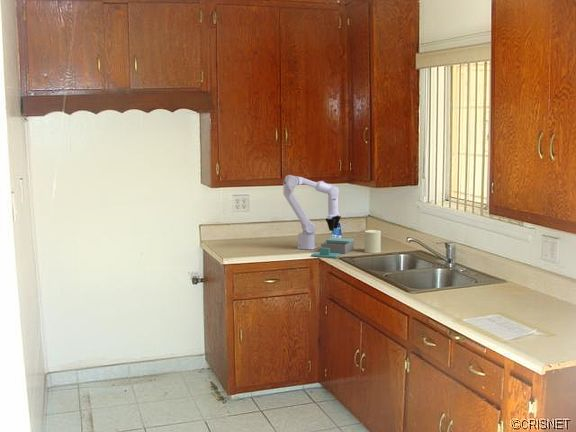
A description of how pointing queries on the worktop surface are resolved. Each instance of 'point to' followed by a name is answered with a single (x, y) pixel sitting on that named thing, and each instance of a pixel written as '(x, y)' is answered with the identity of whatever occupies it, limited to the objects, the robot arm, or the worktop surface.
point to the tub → (338, 245)
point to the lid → (325, 253)
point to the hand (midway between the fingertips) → (333, 229)
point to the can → (372, 241)
